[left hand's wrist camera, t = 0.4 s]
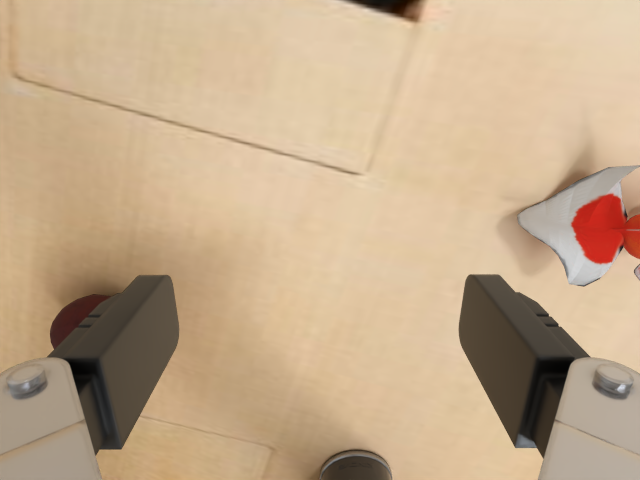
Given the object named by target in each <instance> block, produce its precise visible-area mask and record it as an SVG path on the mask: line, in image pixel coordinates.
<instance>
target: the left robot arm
mask: <svg viewBox="0 0 640 480" xmlns="http://www.w3.org/2000/svg"><path fill="white" fill-rule="evenodd" d="M178 338H179V323H178V316H177V309H176V303H175V296H174V289H173V283H172V280H171V278H170V276H168V275H139V276H137V277H136V278H135V279H134V281H133V282H132V283H131V284H130V285H129V286H128V287H127V288H126V289H125V290H124V291H123V292H122V293H117V294H115V295H114V296H112V297H110V298H108V299H107V300H105V301H103V302H101V303H100V304H99V305H98V306H97V307H96V308H95V309H94V310H93V311H92V312H91V313H90V314H89V315H88V318H85V319H84V320H83V321H82V322H81V323H80V324H79V327H78V328H75V329H74V330H73V331H72V332H71V333H70V334H69V335H68V336H67V337H66V338H65V339H64V340H63V341H62V342H61V343H60V344H59V345H58V346H57V347H56V348H55V349H54V350H53V351H52V353H51V354H50V355H49V356H48V357H47V358H39V359H34V360H30V361H27V362H24V363H21V364H18V365H16V366H14V367H11V368H9V369H8V370H6V371H4V372H2V373H1V374H0V480H102V477H101V474H100V470H99V467H98V463H97V460H96V454H97V453H98V451H99V449H122V447H123V445H124V444H125V442H126V440H127V438H128V436H129V434H130V432H131V431H132V429H133V427H134V425H135V423H136V421H137V419H138V418H139V416H140V414H141V412H142V410H143V408H144V406H145V405H146V403H147V401H148V399H149V397H150V395H151V393H152V392H153V390H154V388H155V386H156V384H157V382H158V380H159V379H160V377H161V375H162V373H163V371H164V369H165V367H166V365H167V364H168V362H169V360H170V358H171V356H172V354H173V352H174V351H175V349H176V346H177V343H178ZM459 338H460V343H461V346H462V348H463V350H464V352H465V354H466V356H467V358H468V360H469V361H470V363H471V365H472V367H473V369H474V371H475V373H476V375H477V377H478V378H479V380H480V382H481V384H482V386H483V388H484V390H485V392H486V393H487V395H488V397H489V399H490V401H491V403H492V405H493V407H494V409H495V410H496V412H497V414H498V416H499V418H500V420H501V422H502V424H503V425H504V427H505V429H506V431H507V433H508V435H509V437H510V439H511V441H512V442H513V444H514V446H515V448H537V449H538V450H539V452H540V454H541V455H542V457H543V459H544V460H543V463H542V467H541V470H540V474H539V477H538V480H640V374H639V373H638V372H636V371H634V370H632V369H631V368H629V367H626V366H624V365H622V364H619V363H616V362H613V361H610V360H606V359H601V358H591V357H590V356H589V355H588V354H587V353H586V352H585V351H584V350H583V349H582V348H581V347H580V346H579V345H578V344H577V343H576V342H575V341H574V340H573V339H572V338H571V337H570V336H569V334H568V333H567V332H566V331H565V330H564V329H563V328H562V327H559V326H558V323H557V322H556V321H555V320H554V319H553V318H552V317H549V314H548V313H547V312H546V311H545V310H544V309H543V308H542V307H541V306H540V305H539V304H538V303H537V302H536V301H534V300H532V299H530V298H528V297H527V296H525V295H523V294H521V293H520V292H515V291H514V290H513V289H512V288H511V287H510V286H509V285H508V284H507V283H506V282H505V280H504V279H503V278H502V277H501V276H500V275H469V276H468V277H467V279H466V282H465V287H464V294H463V301H462V308H461V314H460V321H459ZM320 480H392V474H391V470H390V467H389V465H388V464H387V463H386V461H385V460H383V459H382V458H381V457H379V456H378V455H375V454H373V453H370V452H366V451H348V452H343V453H340V454H338V455H336V456H334V457H332V458H331V459H329V460H328V461H327V462H326V463H325V464H324V465H323V467H322V469H321V471H320Z"/></svg>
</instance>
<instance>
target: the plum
mask: <svg viewBox="0 0 640 480" xmlns="http://www.w3.org/2000/svg"><path fill="white" fill-rule="evenodd" d="M110 297H111V296H104V295H95V294H93V295H90V296H86V297H83V298H80V299H77V300H75V301H73V302H72V303H70V304H69V305H67V306H66V307H64V308H63V309H62V310H61V311H60V312H59V314H58V315H57V316H56V318H55V320H54V321H53V323H52V326H51V329H50V338H51V343H52V345H53V348H54V349H55V348H56V347H57V346H58V345H59V344H60V343H61V342H62V341H63V340H64V339H65V338H66V337H67V336H68V335H69V334H70V333H71V332H72V331H73V330H74V329H75V328H78V327H79V324H80V323H81V322H82V321H83V320H84V319H85V318H88V315H89V314H90V313H91V312H92V311H93V310H94V309H95V308H96V307H97V306H98V305H99V304H100V303H101V302H103V301H105V300H107V299H108V298H110Z"/></svg>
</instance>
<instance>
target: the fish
mask: <svg viewBox="0 0 640 480" xmlns="http://www.w3.org/2000/svg"><path fill="white" fill-rule="evenodd" d="M638 167H640V165H639V166H622V167H608V168H606V169H604V170H601V171H599V172H597V173H594V174H592V175H590V176H588V177H585V178H583V179H581V180H578V181H577V182H575V183H574V184H572V185H570V186H569V187H567V188H565V189H564V190H562V191H561V192H559V193H557V194H556V195H554V196H552V197H551V198H549V199H547V200H546V201H543V202H541V203H538V204H535V205H533V206H531V207H529V208H527V209H525V210H524V211H522V212H520V213H519V214H518V215H517V217H518V224H519V225H520V226H521V227H522V228H523V229H525V230H526V231H527V232H529V233H530V234H532V235H533V236H534V237H536V238H537V239H539V240H540V241H542V242H544V243H545V244H547V245H548V246H550V247H551V248H552V249H553V250H554V252H555V253H556V254H557V255H558V256H559V258H560V260H561V262H562V264H563V265H564V268H565V271H566V275H567V278H568V282H569V284H573V285H578V286H586V285H588V284H590V283H592V282H594V281H596V280H598V279H600V278H601V277H602V276H603V275H604V274H605V273H606V272H607V271H608V269H609V268H610V267H611V265H612V264H613V262H614V261H615V259H616V258H617V256H618V255H619V253H620V252H621V250H622V248H623V247H625V249H626V250H627V251H628V253H629V254H631V255H632V256H634V257H636V258H638V259H640V214H639V215H636V216H634V217H632V218H630V219H629V220H628V221H627V217H628V216H627V213H626V210H625V207H624V204H623V201H622V193H621V184H620V181H621V180H622V178H624V177H625V176H626V175H627V174H629V173H630V172H632V171H633V170H635V169H636V168H638ZM626 221H627V222H626ZM634 273H635V275H636V276H637V277H638V279H639V280H640V264H639V265H638V266H637V267H636V268H635V270H634Z"/></svg>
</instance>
